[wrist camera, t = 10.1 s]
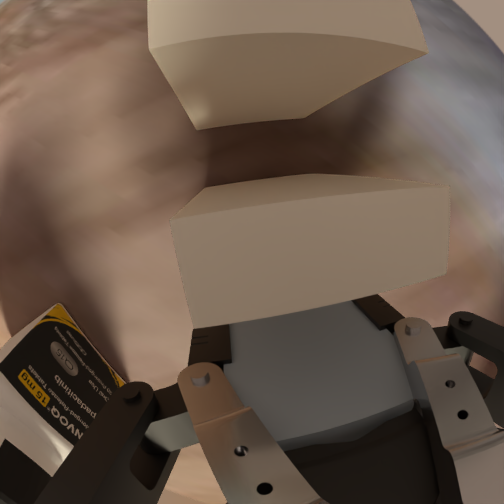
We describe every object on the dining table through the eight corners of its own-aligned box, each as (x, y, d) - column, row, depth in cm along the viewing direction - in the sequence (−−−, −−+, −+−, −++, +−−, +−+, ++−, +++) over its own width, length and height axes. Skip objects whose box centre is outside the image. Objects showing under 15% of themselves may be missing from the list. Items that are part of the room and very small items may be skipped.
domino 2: (311, 173, 13) (449, 186, 4) (315, 210, 13) (446, 274, 5) (204, 187, 13) (169, 220, 4) (211, 225, 13) (194, 328, 4)
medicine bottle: (134, 388, 15) (92, 557, 4) (72, 409, 16) (24, 531, 4) (61, 298, 13) (-64, 448, 2) (10, 337, 13) (-76, 446, 2)
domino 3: (323, 266, 14) (439, 385, 5) (325, 299, 14) (422, 428, 5) (221, 284, 13) (227, 447, 5) (227, 316, 14) (242, 482, 5)
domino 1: (298, 83, 12) (403, -15, 3) (303, 118, 12) (429, 52, 3) (192, 94, 11) (147, -25, 3) (196, 130, 12) (148, 49, 3)
